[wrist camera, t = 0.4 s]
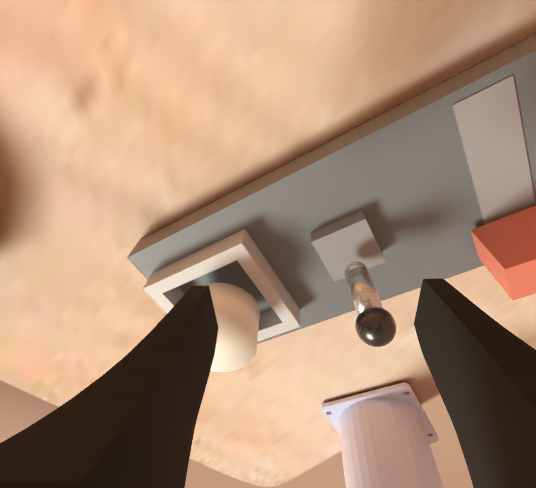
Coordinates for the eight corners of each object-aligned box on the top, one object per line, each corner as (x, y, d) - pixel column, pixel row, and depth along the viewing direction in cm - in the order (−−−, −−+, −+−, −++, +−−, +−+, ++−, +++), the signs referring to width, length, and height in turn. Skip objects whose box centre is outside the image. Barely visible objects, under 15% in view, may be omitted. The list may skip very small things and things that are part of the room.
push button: (273, 323, 20) (271, 358, 18) (213, 345, 22) (204, 380, 19) (234, 271, 18) (226, 303, 16) (170, 299, 20) (155, 331, 18)
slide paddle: (561, 228, 17) (615, 268, 14) (478, 258, 19) (512, 300, 16) (557, 197, 16) (613, 233, 14) (470, 230, 18) (505, 269, 15)
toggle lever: (373, 263, 18) (405, 343, 16) (341, 275, 19) (368, 355, 16) (365, 249, 17) (398, 334, 14) (331, 262, 17) (357, 346, 15)
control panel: (575, 206, 19) (626, 239, 16) (224, 336, 27) (215, 374, 24) (554, 23, 15) (620, 22, 12) (139, 240, 22) (116, 272, 19)
